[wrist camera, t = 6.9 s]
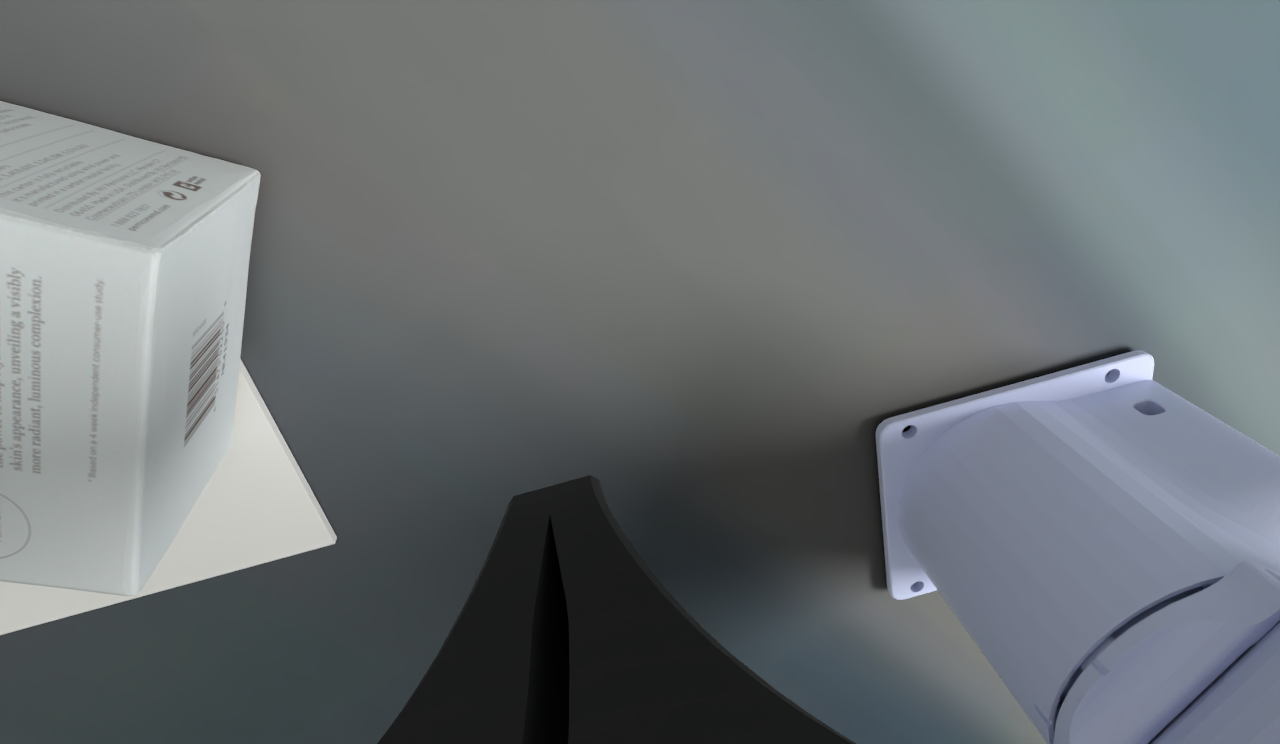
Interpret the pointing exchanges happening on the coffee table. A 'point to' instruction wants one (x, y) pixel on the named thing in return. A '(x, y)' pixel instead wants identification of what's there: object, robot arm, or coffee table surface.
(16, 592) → the felt pad
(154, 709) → the coffee table surface
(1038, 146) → the coffee table surface
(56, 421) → the small box
